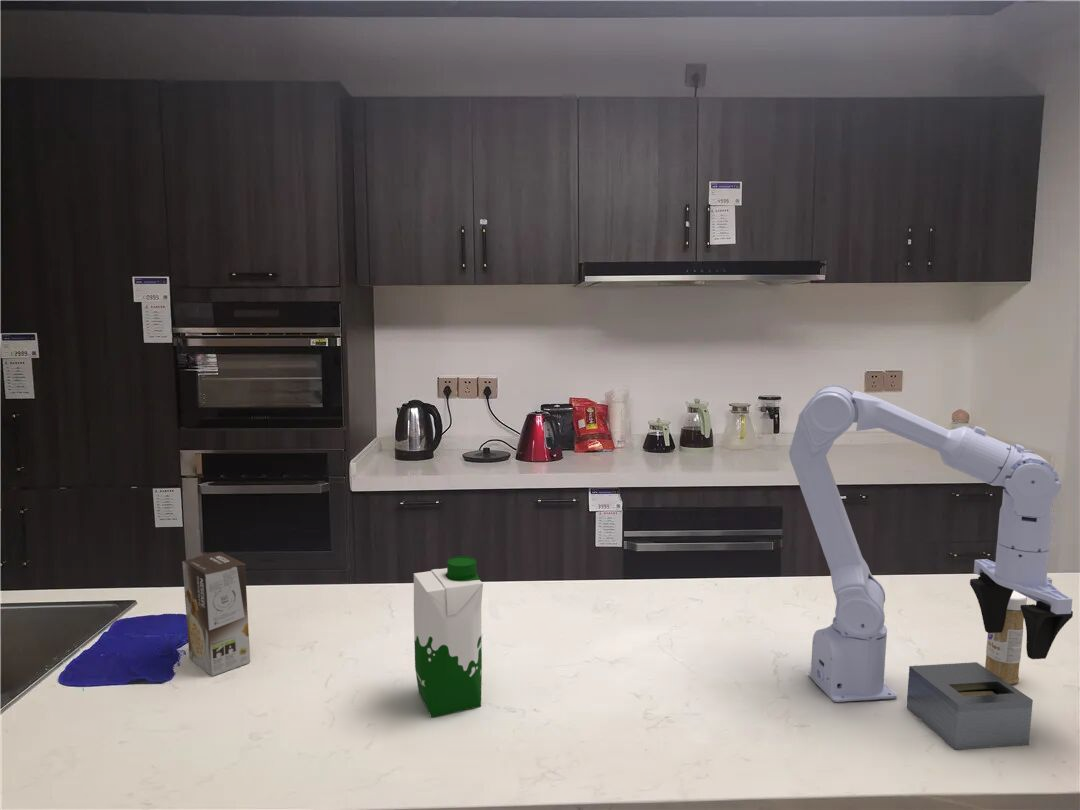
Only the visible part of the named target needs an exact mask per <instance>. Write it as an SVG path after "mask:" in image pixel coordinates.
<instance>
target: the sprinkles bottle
mask: <svg viewBox="0 0 1080 810" xmlns="http://www.w3.org/2000/svg"><path fill="white" fill-rule="evenodd" d="M1027 601H1028V597H1026V596H1024V595H1022V594H1020V593H1018V592H1016V591H1013V593H1012V595H1011V597H1010V600H1009V603H1008V607H1007V612H1006V618H1005V624H1004V628H1003V631H1002V632H1001V633H987V637H986V638H987V639H986V649H985V653H986V654H985V664H984V665H985V666H984V667H985V668H986V669H988V670H989V671H991V672H992V673H994V674H995V675H997V676H998V677H1000V678H1001V679H1002V680H1004V681H1005V682H1007V683H1008V684H1010V685H1013V684H1018V683H1019V680H1020V677H1019V673H1020V670H1019V669H1020V665H1021V664H1020V663H1021V658H1022V657H1021V656H1022V647H1023V637H1024V622H1025V620H1024V616H1023V613H1022V611H1021V608H1020V606H1021V605H1028V604H1027Z"/></svg>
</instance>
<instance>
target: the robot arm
mask: <svg viewBox="0 0 1080 810" xmlns="http://www.w3.org/2000/svg"><path fill="white" fill-rule="evenodd" d="M854 423H857V424H856V427H855V430H856V431H857V432H859V431H867V430H873V429H874V430H876V429H881V430H884V431H886V432H889V433H891V434H894V435H896V436H899V437H902V438H904V439H906V440H908V441H911V442H915V443H917V444H919V445H922V446H924V447H927V448H929V449H932V450H934V451H936V452H938V453H939V455H940V457H941V461H942V462H943V464H944V465H945V466H947V467H949V468H952V469H954V470H955V471H958V472H961V473H963V474H965V475H968V476H970V477H972V478H975V479H976V480H979V481H981V482H983V483H986V484H988V485H991V486H994V487H995V486H996V487H997V486H999V487H1003V489H1002V499H1001V500H1002V501H1001V502H1002V503H1001V506H1000V509H999V516H998V517H999V518H998V529H997V541H996V552H995V561H992V560H989V559H987V558H985V559H982V558H981V559H974V567H973V573H974V574H976V575H977V576H978V577H977V578H971V579H970V580H969V585H970V587H971V589H972V590H973V592H974V594H975V596H976V599H977V601H978V606H979V608H980V612H981V618H982V622H983V626H984V628H983V629H984V630H985V633H987V634H988V633H1001V632H1002V631H1003V628H1004V624H1005V618H1006V612H1007V607H1008V603H1009V600H1010V597H1011V595H1012V593H1013V591H1016V592H1018V593H1020V594H1022V595H1024V596H1026V597H1027V599H1028V598H1029V599H1030V600H1032V601H1034V602H1035V603H1036V604H1026V605H1021V606H1020V608H1021V611H1022V613H1023V616H1024V624H1025V630H1026V632H1025V633H1026V642H1025V644H1026V646H1025V647H1026V654H1027V658H1029V659H1030V660H1043V659H1045V660H1046V658H1047V656H1048V654H1049V651H1050V650H1051V647H1052V645H1053V643H1054V641H1055V638H1056V637H1057V635H1058V634H1059V632H1060V631H1061V630H1062V628H1063V627H1064V625H1065V626H1066V624H1067V622H1069V621H1070V620H1071V619H1072V618H1073V614H1074V613H1073V612H1074V611H1072V609H1073V608H1072V607H1073V598H1072V597H1069V596H1068V595H1066V594H1065V593H1063V592H1062V591H1060V589H1058V588H1057V587H1055V586H1054V585H1053V578H1051V577H1049V576H1048V568H1049V557H1050V556H1049V555H1050V547H1051V537H1052V536H1051V535H1052V528H1053V527H1052V526H1053V525H1052V524H1053V513H1052V512H1053V511H1052V509H1053V506H1054V502H1053V501H1054V499H1055V498H1056V497H1057V496H1058V494H1059V493H1060V491H1061V488H1062V483H1060V477H1059V474H1058V472H1057V470H1056V469H1055V468H1054V466H1052V465H1051V464H1050V463H1049V462H1048V461H1047V460H1046V459H1045V458H1044V457H1042V456H1040V455H1038V454H1036V452H1034V451H1033V450H1029V449H1027V450H1026V448H1025V447H1024V446H1023V445H1020V444H1018V443H1015V444H1014V445H1010V444H1008V443H1006V442H1004V441H1002V440H999V439H996V438H995V437H992V436H990V435H987V434H986V433H987V430H986V429H984V428H982V427H981V426H977V425H975V426H974V427H973V428H970V427H968V426H964V425H963V426H960V427H957V428H954V429H948V428H945V427H943V426H941V425H939V424H936V423H935V422H932V421H930V420H928V419H926V418H923V417H922V416H919V415H917V414H914V413H912V412H910V411H908V410H906V409H904V408H901V407H900V406H898V405H895V404H893V403H891V402H889V401H886V400H884V399H882V398H879V397H877V396H874V395H870V394H867V393H865V392H862V391H857V390H854V391H851V390H850V389H849V388H847V387H845V386H843V385H839V384H829V385H826V386H823V387H822V388H820V389H818V391H816V392H815V394H814V395H812V397H811V398H810V399H809V400H808V402H807V403H806V405H805V406H804V407H803V408H802V410H801V411H800V412H799V414H798V419H797V424H796V426H795V430H794V433H793V437H792V441H791V445H790V448H789V451H788V454H789V459H790V463H791V465H792V467H793V471H794V474H795V476H796V480H797V482H798V484H799V487H800V491H801V493H802V496H803V498H804V502H805V504H806V507H807V510H808V512H809V515H810V519H811V521H812V524H813V526H814V529H815V532H816V534H817V539H818V540H819V543H820V546H821V549H822V552H823V555H824V557H825V560H826V563H827V565H828V569H829V572H830V577H831V584H832V589H833V594H834V597H835V599H836V600H835V601H836V605H835V609H834V613H835V615H834V617H833V618H832V624H830V625H829V626H827V627H824V628H821V629H817V630H816V631H814V634H813V637H812V644H811V645H812V647H811V662H810V663H811V664H810V665H811V667H810V671H808V673H807V674H808V677H810V678H811V679H812V681H813V683H815V684H816V685H818V687H819V688H820V689H821V690H822V691H823V692H824V693H825V694H826V695H827V696H828V697H829V698H830V699H831V701H833V702H835V703H836V702H837V703H841V702H842V703H843V702H853V701H854V702H857V701H873V700H888V699H897V694H896V692H895V691H893V689H891V688H890V687H889V686H888V685H887V684H885V669H886V652H887V651H886V650H887V639H888V638H887V637H888V636H887V635H888V634H887V633H888V628H887V626H886V625H885V618H886V617H885V611H884V608H885V602H886V592H885V589H884V588H883V585H882V584H881V583H880V582H879V581H878V580H877V579H876V578H875V577H874V576H873V574H872V573H871V571H870V568H869V565H868V563H867V562H866V560H865V559H864V558H863V555H862V552H861V550H860V547H859V544H858V542H857V538H856V535H855V533H854V530H853V528H852V524H851V522H850V519H849V516H848V514H847V511H846V508H845V505H844V501H843V499H842V497H841V495H840V491H839V488H838V486H837V483H836V481H835V478H834V475H833V472H832V469H831V467H830V463H829V461H828V458H827V455H828V453H829V452H830V450H831V448H832V446H833V445H834V442H835V441H836V440H838V438H840V437H841V436H842V435H844V433H845V432H847V431H848V430H849V429H850V427H851V426H852V425H853V424H854Z"/></svg>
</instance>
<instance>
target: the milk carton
mask: <svg viewBox="0 0 1080 810" xmlns="http://www.w3.org/2000/svg"><path fill="white" fill-rule="evenodd" d="M446 564H447V565H446V566H447V567H446V568H444V567H443V568H434V569H431V570H430V571H429V570H428V571H423V572H415V573H413V634H414V635H413V638H414V641H413V643H414V670H415V677H416V683H417V689H418V694H419V696H420V698H421V700H422V702H423V704H424V706H425V708H426V710H427V711H428V714H429V715H430V717H431V718H435V717H439V716H443V715H444V716H445V715H449V714H454V713H457V712H461V711H462V712H464V711H467V710H471V709H475V708H480V707H482V685H483V684H482V675H483V671H482V670H483V669H482V668H483V667H482V666H483V664H482V663H483V659H482V658H483V657H482V653H483V651H482V649H483V647H482V645H483V644H482V641H483V640H482V638H483V637H482V603H483V602H482V601H483V599H482V598H483V591H484V590H483V589H484V583H483V582H482V581H481V578H480V577H479V574H478V573H477V560H476V559H475V558H474V557H470V556H456V557H452V558H449V559H448V560H447V562H446Z"/></svg>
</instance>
